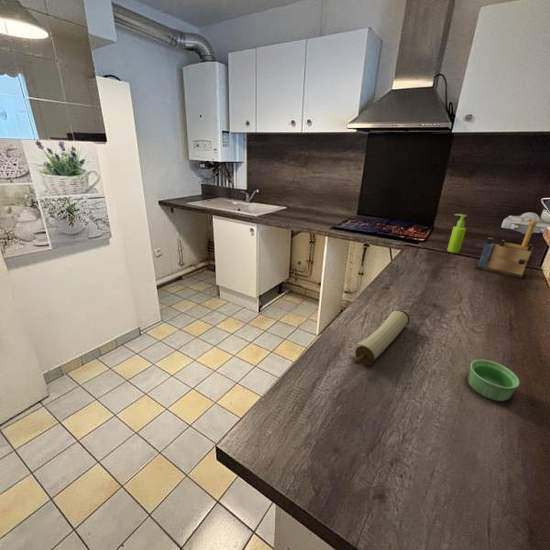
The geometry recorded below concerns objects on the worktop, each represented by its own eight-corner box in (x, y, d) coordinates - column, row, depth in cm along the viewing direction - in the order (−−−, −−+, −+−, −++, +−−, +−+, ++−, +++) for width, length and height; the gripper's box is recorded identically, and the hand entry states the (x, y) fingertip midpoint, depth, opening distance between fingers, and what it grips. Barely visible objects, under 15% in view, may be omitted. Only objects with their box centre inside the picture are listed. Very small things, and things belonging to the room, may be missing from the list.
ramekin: (468, 368, 72) (473, 354, 70) (513, 386, 67) (520, 371, 65) (462, 389, 65) (467, 374, 64) (511, 410, 60) (519, 395, 58)
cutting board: (522, 274, 130) (534, 244, 125) (521, 278, 126) (534, 247, 120) (477, 265, 140) (487, 236, 134) (476, 268, 136) (486, 238, 130)
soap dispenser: (447, 248, 164) (457, 212, 156) (460, 251, 159) (471, 215, 151) (443, 250, 161) (453, 214, 153) (456, 253, 156) (467, 216, 148)
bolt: (531, 249, 124) (543, 221, 120) (532, 250, 123) (543, 222, 118) (503, 244, 130) (513, 217, 125) (503, 245, 128) (512, 218, 123)
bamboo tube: (364, 376, 68) (368, 359, 66) (343, 365, 72) (346, 348, 70) (413, 323, 90) (417, 309, 88) (395, 317, 93) (399, 303, 91)
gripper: (554, 234, 137) (556, 241, 127) (501, 227, 148) (499, 232, 138) (559, 221, 134) (562, 226, 124) (505, 214, 146) (503, 219, 136)
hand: (528, 229), depth 131 cm, fingers open, 8 cm apart
